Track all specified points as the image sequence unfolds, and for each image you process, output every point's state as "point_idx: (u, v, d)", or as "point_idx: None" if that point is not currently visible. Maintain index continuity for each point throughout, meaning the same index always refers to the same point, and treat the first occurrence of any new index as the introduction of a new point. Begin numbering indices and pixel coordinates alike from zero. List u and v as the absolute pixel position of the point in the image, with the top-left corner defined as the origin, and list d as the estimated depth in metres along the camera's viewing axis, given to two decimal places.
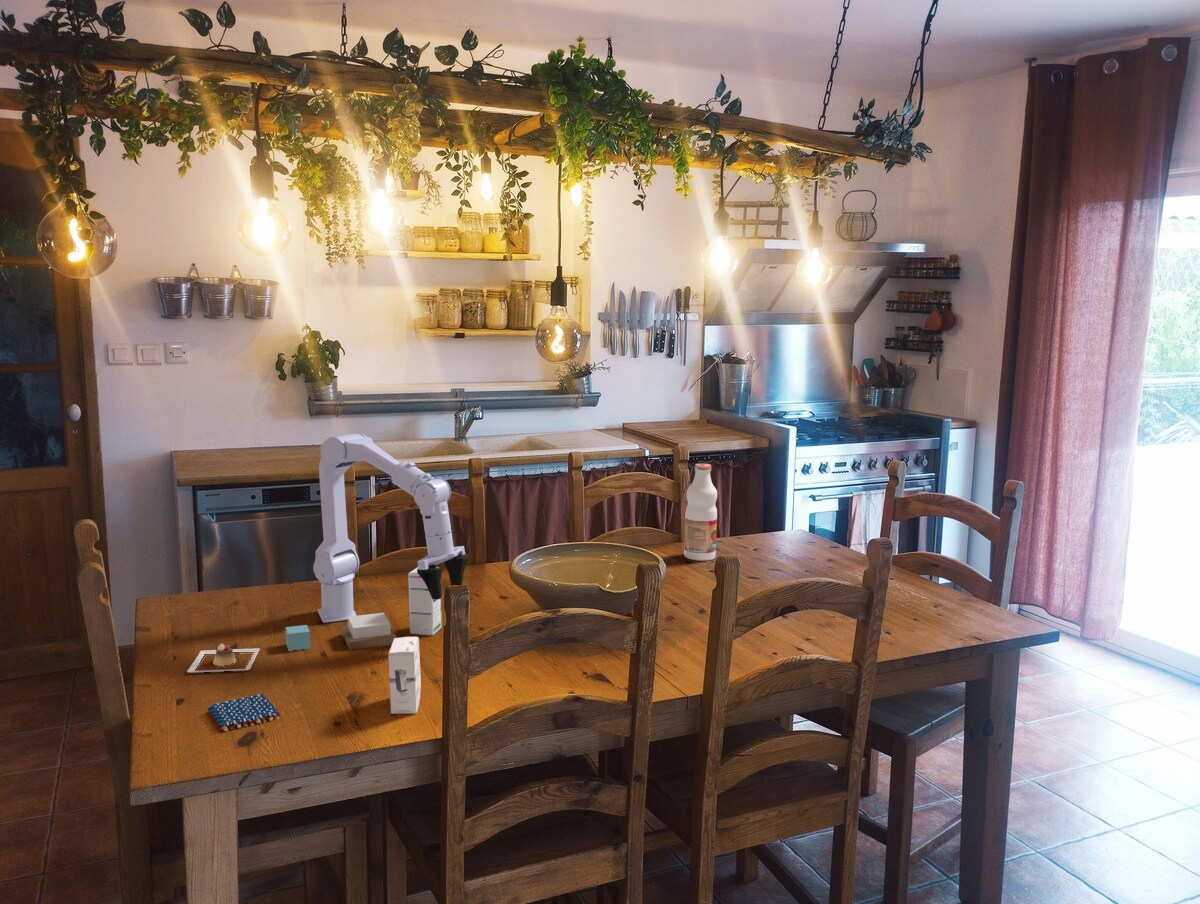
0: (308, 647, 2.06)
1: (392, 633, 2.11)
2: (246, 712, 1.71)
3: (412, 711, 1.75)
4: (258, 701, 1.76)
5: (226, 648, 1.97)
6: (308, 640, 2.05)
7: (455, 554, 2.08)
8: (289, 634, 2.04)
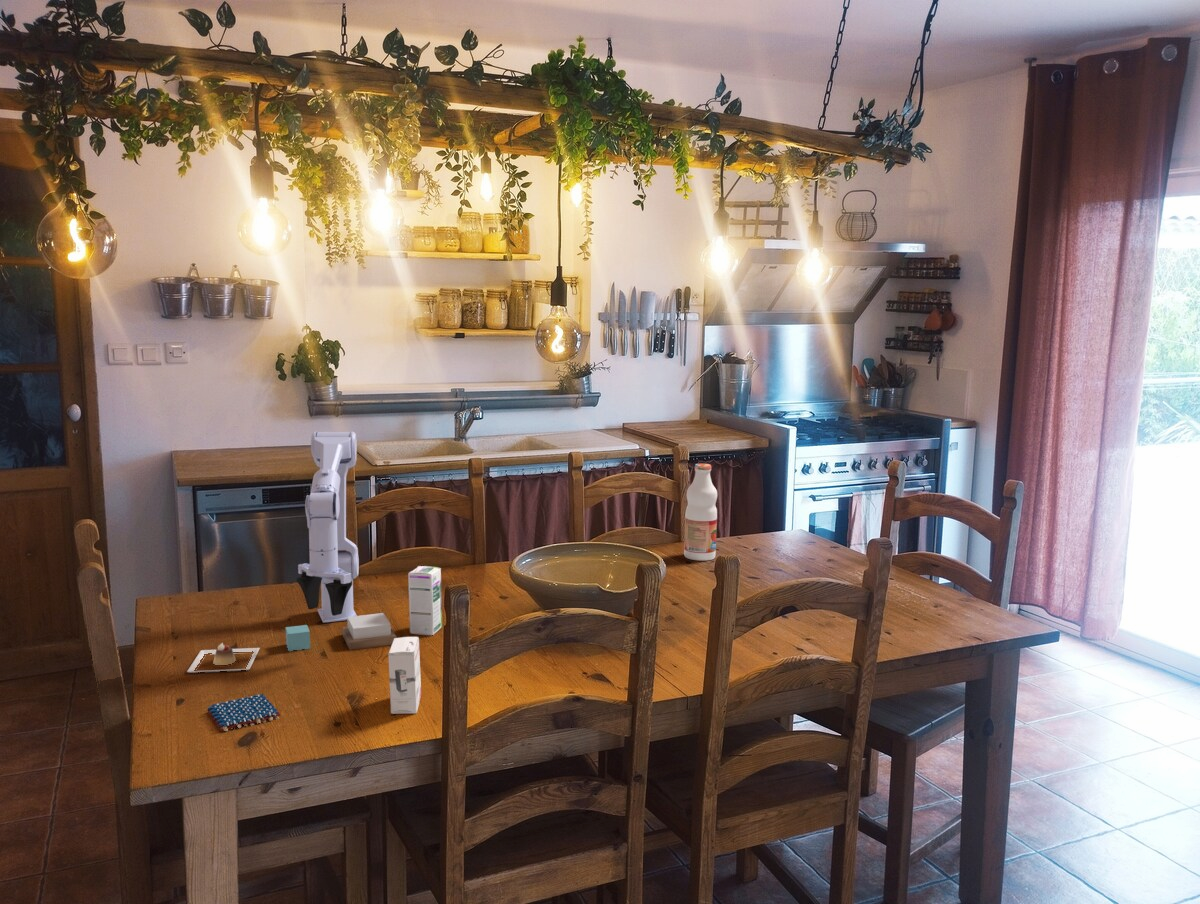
0: (308, 647, 2.06)
1: (392, 633, 2.11)
2: (246, 712, 1.71)
3: (412, 711, 1.75)
4: (258, 701, 1.76)
5: (226, 648, 1.97)
6: (308, 640, 2.05)
7: (307, 573, 1.99)
8: (289, 634, 2.04)
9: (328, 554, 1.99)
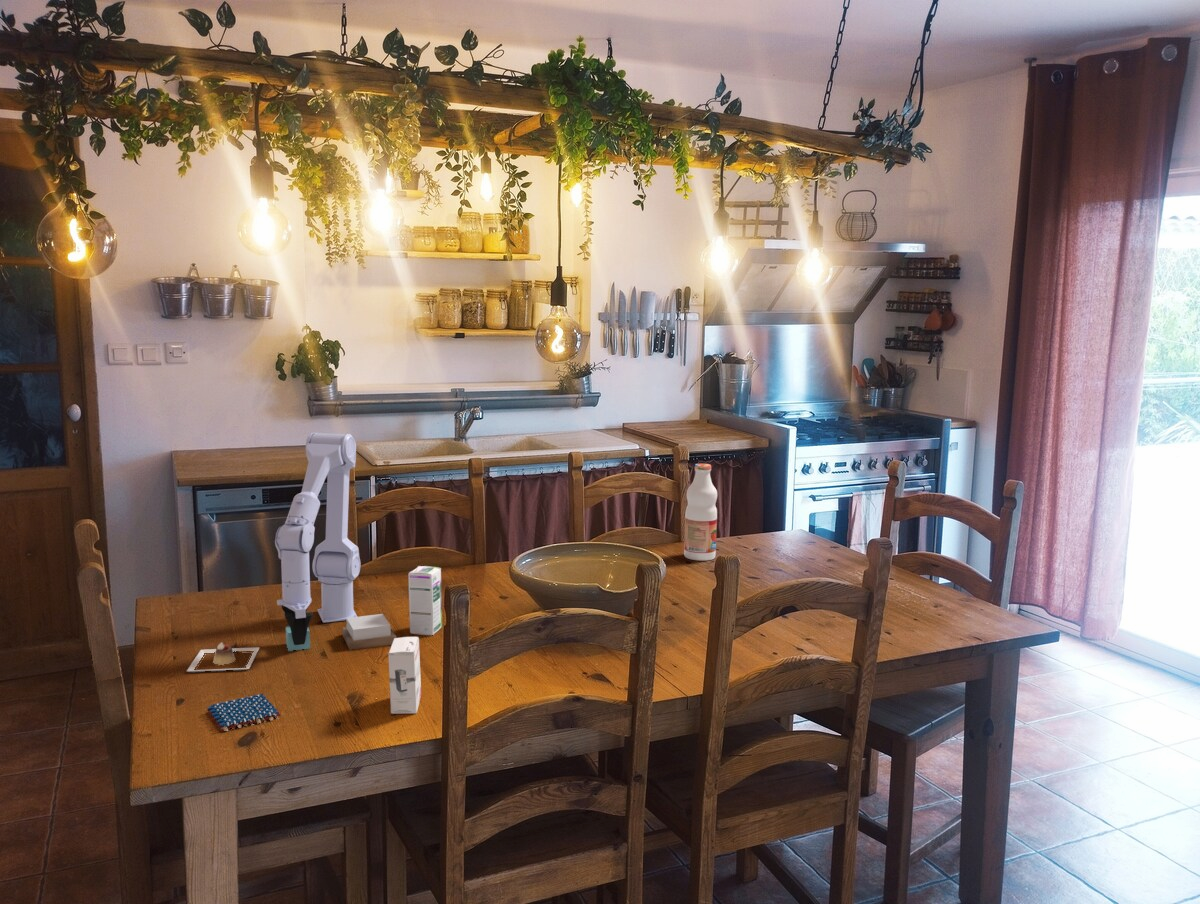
0: (308, 646, 2.06)
1: (392, 633, 2.11)
2: (246, 712, 1.71)
3: (412, 711, 1.75)
4: (258, 701, 1.76)
5: (226, 647, 1.98)
6: (307, 639, 2.05)
7: (277, 602, 2.04)
8: (289, 633, 2.04)
9: (292, 586, 2.02)
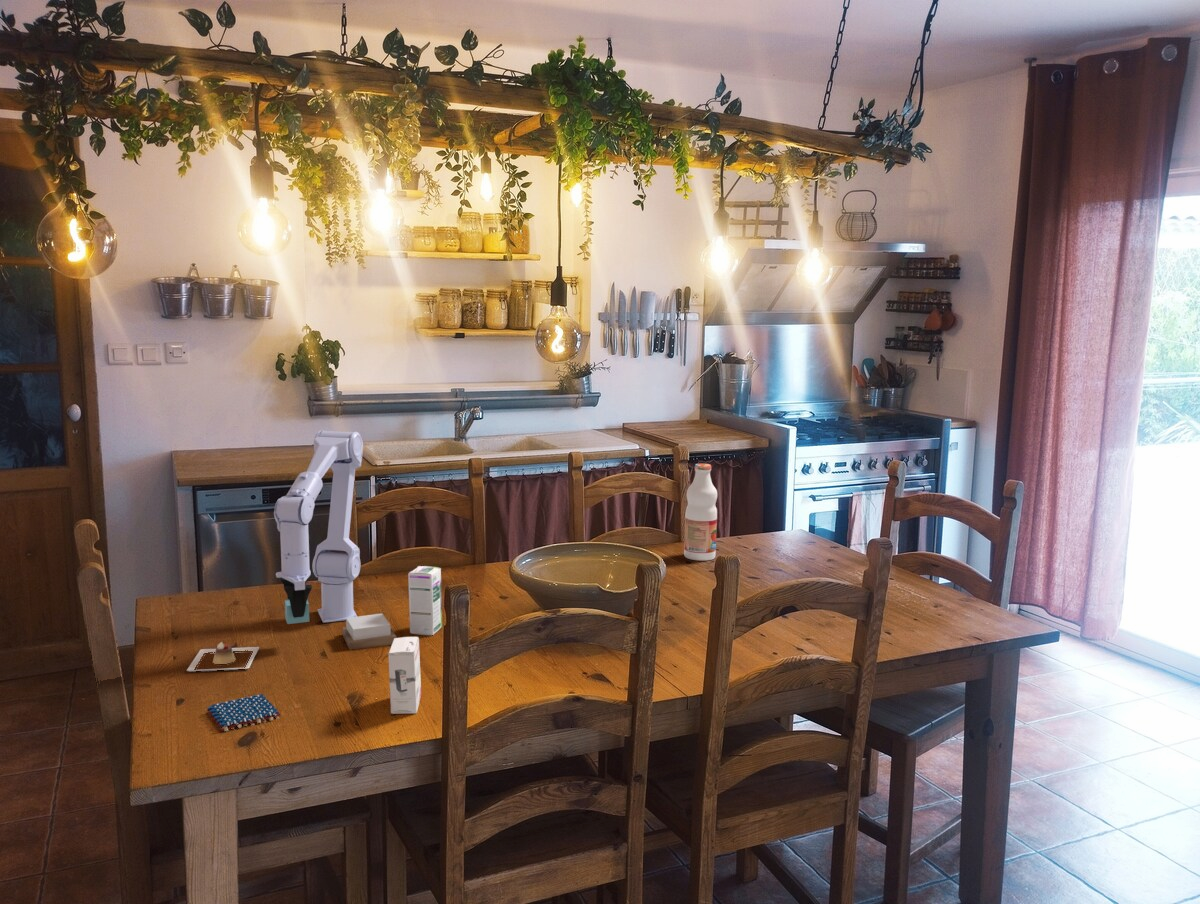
0: (307, 619, 2.05)
1: (392, 633, 2.11)
2: (246, 712, 1.71)
3: (412, 711, 1.75)
4: (258, 701, 1.76)
5: (226, 647, 1.98)
6: (307, 612, 2.04)
7: (276, 574, 2.03)
8: (288, 606, 2.03)
9: (291, 558, 2.01)
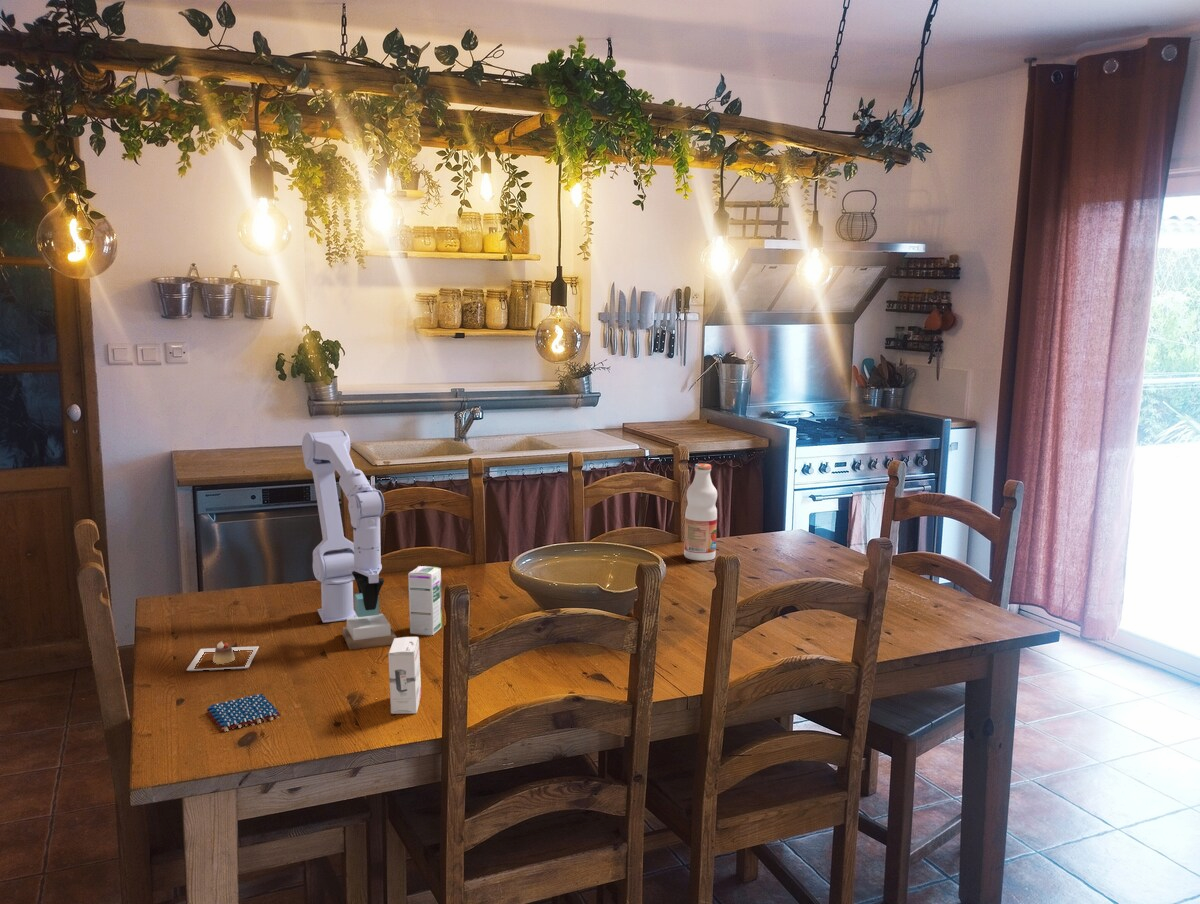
0: (377, 613, 2.10)
1: (392, 633, 2.11)
2: (246, 712, 1.71)
3: (412, 711, 1.75)
4: (258, 701, 1.76)
5: (225, 646, 1.98)
6: (377, 605, 2.09)
7: (348, 568, 2.08)
8: (359, 599, 2.08)
9: (365, 552, 2.06)
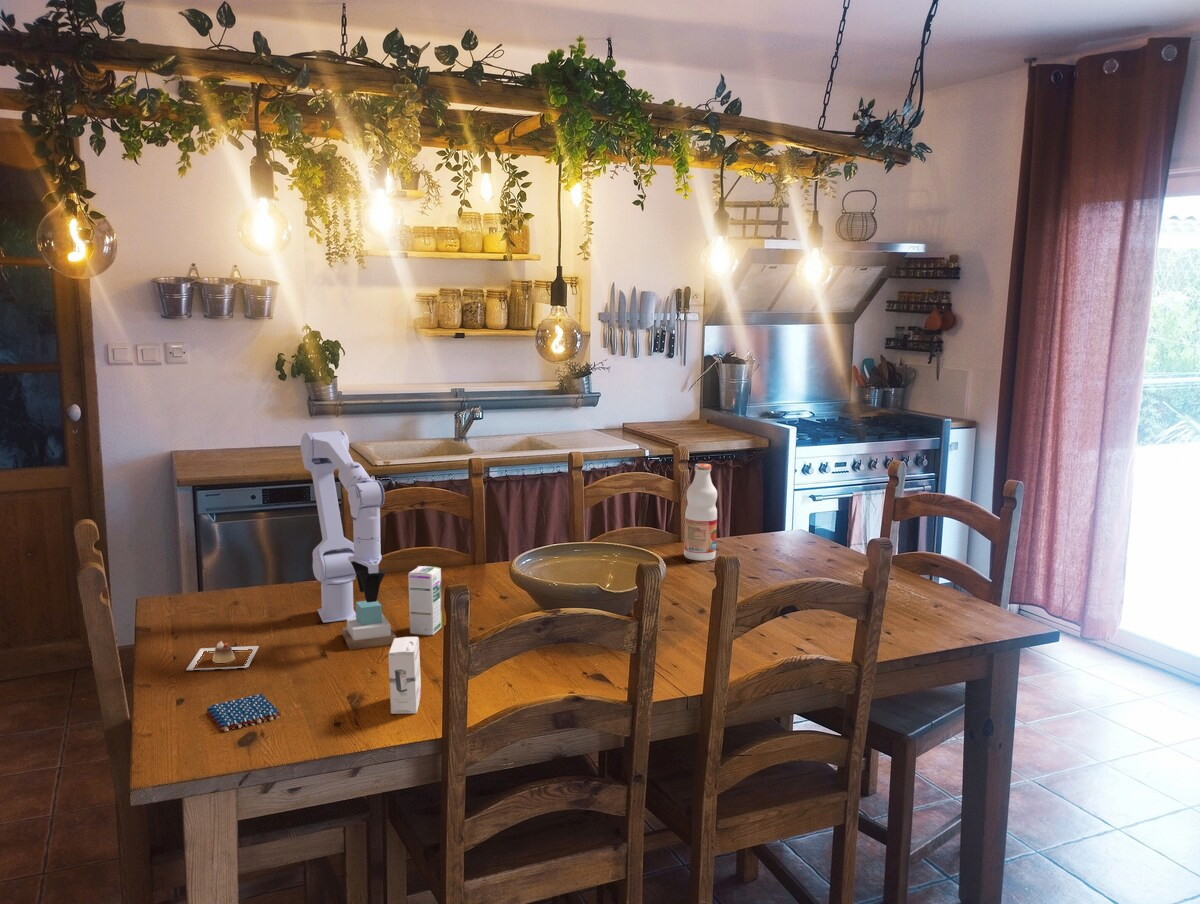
0: (380, 621, 2.10)
1: (392, 634, 2.11)
2: (246, 712, 1.71)
3: (412, 711, 1.75)
4: (257, 701, 1.76)
5: (225, 646, 1.98)
6: (379, 614, 2.10)
7: (348, 558, 2.08)
8: (362, 608, 2.08)
9: (364, 542, 2.06)
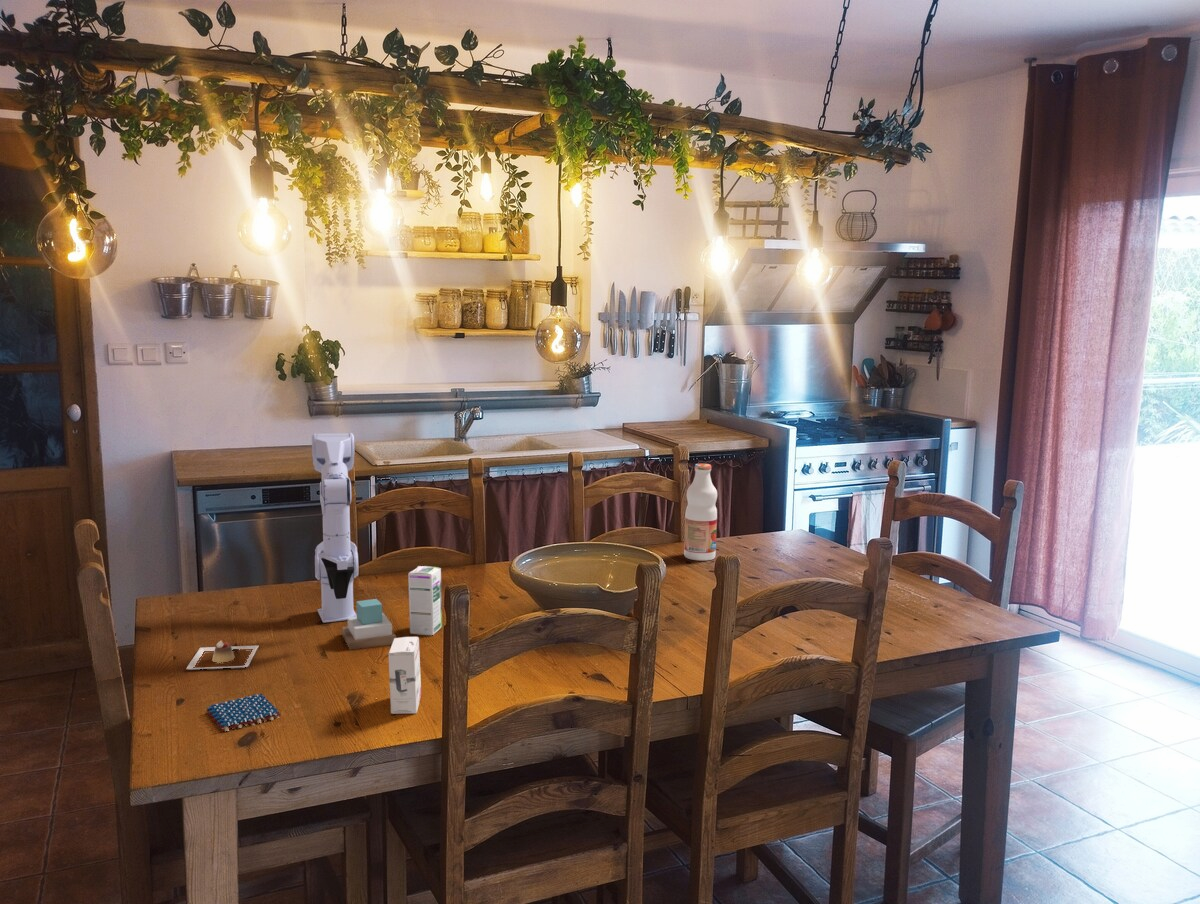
0: (380, 620, 2.10)
1: (392, 633, 2.11)
2: (246, 712, 1.71)
3: (412, 711, 1.75)
4: (257, 701, 1.76)
5: (225, 645, 1.99)
6: (380, 613, 2.10)
7: (318, 555, 2.08)
8: (363, 607, 2.08)
9: (334, 539, 2.06)
